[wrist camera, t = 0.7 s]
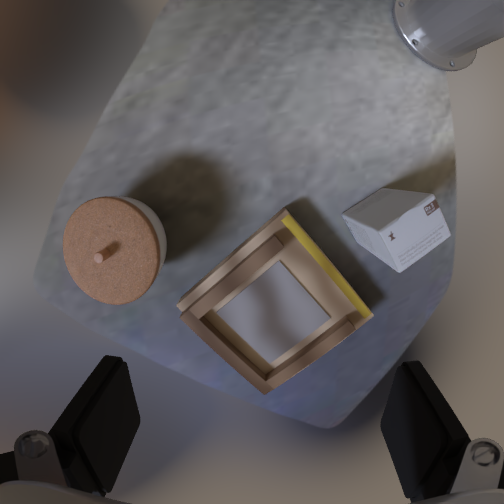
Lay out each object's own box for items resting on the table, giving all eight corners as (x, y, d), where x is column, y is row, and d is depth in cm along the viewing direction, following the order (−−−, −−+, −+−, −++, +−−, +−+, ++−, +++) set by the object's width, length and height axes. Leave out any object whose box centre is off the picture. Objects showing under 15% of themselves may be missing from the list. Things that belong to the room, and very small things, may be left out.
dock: (284, 206, 35) (287, 211, 31) (367, 307, 38) (378, 321, 34) (181, 297, 38) (172, 311, 34) (269, 380, 41) (269, 399, 37)
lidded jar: (193, 215, 36) (170, 231, 27) (158, 294, 38) (131, 330, 29) (113, 176, 35) (71, 180, 26) (85, 255, 37) (44, 279, 28)
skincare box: (357, 244, 36) (398, 279, 24) (338, 211, 35) (375, 233, 23) (400, 216, 35) (454, 239, 23) (382, 183, 34) (435, 192, 22)
